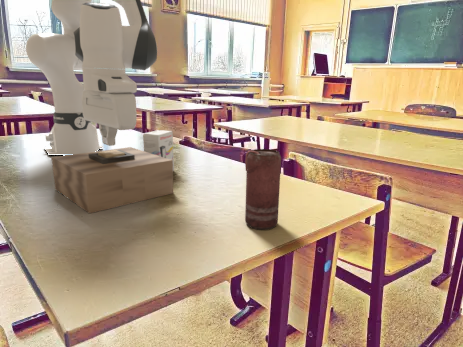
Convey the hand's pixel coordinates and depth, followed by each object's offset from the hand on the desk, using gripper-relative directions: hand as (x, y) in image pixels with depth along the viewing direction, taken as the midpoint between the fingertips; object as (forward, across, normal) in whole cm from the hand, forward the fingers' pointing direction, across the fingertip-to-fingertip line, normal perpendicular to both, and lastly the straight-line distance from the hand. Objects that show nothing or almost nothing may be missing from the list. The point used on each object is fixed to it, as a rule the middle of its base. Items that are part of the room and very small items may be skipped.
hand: (109, 144), depth 82 cm
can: (+11, +36, +12) cm, 40 cm away
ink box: (+12, -7, +17) cm, 22 cm away
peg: (+11, +1, 0) cm, 11 cm away
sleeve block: (+11, 0, 0) cm, 11 cm away
